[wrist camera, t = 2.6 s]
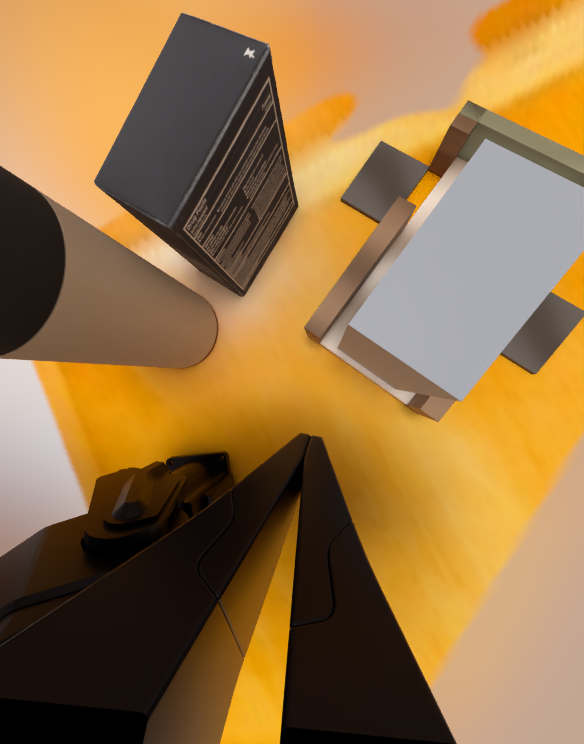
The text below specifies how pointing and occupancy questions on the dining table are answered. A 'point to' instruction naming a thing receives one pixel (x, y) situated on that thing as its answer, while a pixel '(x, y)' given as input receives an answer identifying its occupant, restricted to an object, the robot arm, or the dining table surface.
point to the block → (469, 276)
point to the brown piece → (392, 211)
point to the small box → (207, 153)
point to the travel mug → (88, 292)
